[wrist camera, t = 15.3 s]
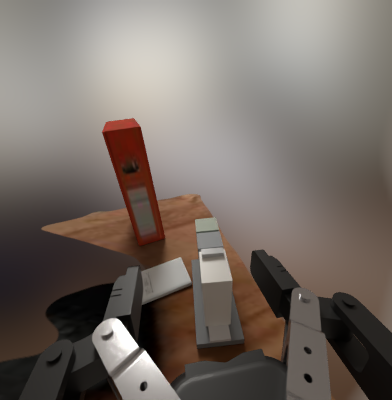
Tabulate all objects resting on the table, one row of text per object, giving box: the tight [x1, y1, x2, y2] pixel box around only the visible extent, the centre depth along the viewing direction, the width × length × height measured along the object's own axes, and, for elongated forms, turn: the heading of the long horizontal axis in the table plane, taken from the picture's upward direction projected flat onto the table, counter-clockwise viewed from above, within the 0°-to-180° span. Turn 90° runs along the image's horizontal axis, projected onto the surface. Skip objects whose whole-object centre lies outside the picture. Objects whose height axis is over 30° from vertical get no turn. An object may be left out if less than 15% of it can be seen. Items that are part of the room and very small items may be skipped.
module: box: [199, 247, 232, 327], centre depth 32 cm, size 5×6×13 cm
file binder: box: [102, 118, 165, 246], centre depth 54 cm, size 8×17×32 cm, turn 20°
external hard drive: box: [141, 257, 192, 305], centre depth 44 cm, size 2×8×12 cm
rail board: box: [192, 218, 244, 349], centre depth 36 cm, size 8×18×14 cm, turn 4°
